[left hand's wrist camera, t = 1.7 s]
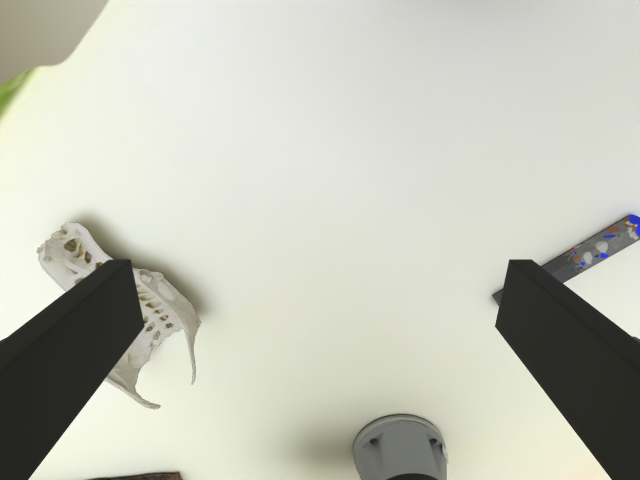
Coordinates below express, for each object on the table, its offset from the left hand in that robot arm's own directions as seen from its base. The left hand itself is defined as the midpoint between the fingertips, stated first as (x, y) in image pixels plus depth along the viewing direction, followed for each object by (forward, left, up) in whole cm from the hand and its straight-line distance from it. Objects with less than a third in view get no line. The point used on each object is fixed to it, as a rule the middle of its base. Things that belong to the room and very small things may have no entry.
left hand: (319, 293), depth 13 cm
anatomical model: (-19, +26, -33) cm, 46 cm away
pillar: (-14, -33, -33) cm, 48 cm away
